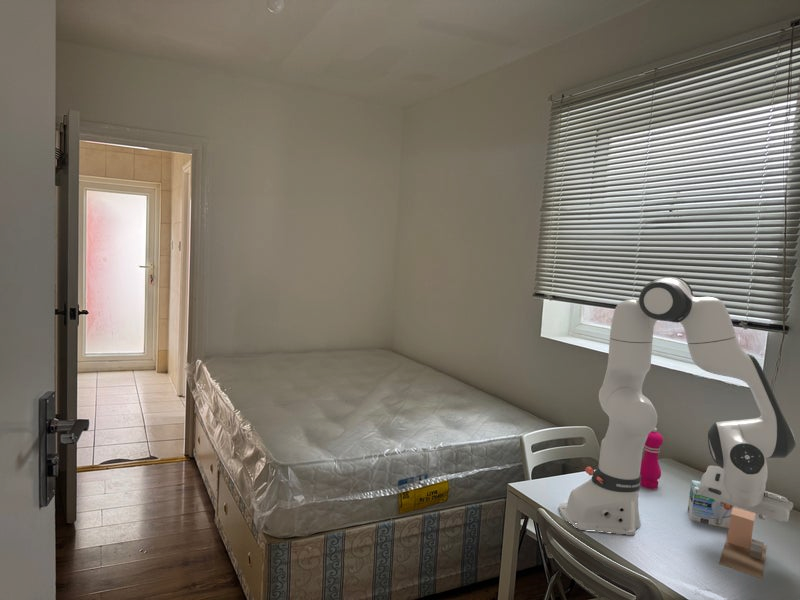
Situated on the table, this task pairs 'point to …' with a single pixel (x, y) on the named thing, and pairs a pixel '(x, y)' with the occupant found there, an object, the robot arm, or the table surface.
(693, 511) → the light bulb box
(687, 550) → the table surface
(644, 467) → the pepper mill
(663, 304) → the robot arm
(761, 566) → the board
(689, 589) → the table surface
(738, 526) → the peach rectangular block
